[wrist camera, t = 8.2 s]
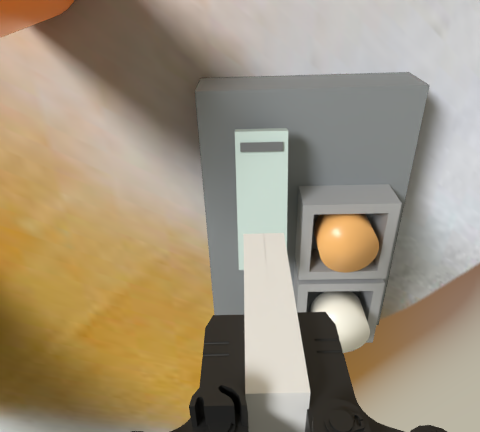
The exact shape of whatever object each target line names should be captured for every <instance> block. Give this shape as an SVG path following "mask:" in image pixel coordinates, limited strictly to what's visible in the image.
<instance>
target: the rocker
mask: <svg viewBox="0 0 480 432" xmlns="http://www.w3.org/2000/svg"><path fill="white" fill-rule="evenodd" d="M235 159H236V192H237V225H238V258H239V270H244V240H243V234H259V233H284V237H285V243H286V249H287V197H288V130H287V128H268V129H235Z"/></svg>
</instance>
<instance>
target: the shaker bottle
mask: <svg viewBox="0 0 480 432" xmlns="http://www.w3.org/2000/svg"><path fill="white" fill-rule="evenodd" d="M73 2H74V0H0V38H1V37H3V36H6V35H9V34H11V33H14V32H16V31H19V30H22V29H24V28H27V27H29V26H32V25H35V24H37V23H40V22H42V21H45V20H48V19H50V18H53V17H55V16H58V15H60V14H62V13H63V12H64V11H66V10H67V9H68V8H69V7H70V6H71V4H72V3H73Z"/></svg>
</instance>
